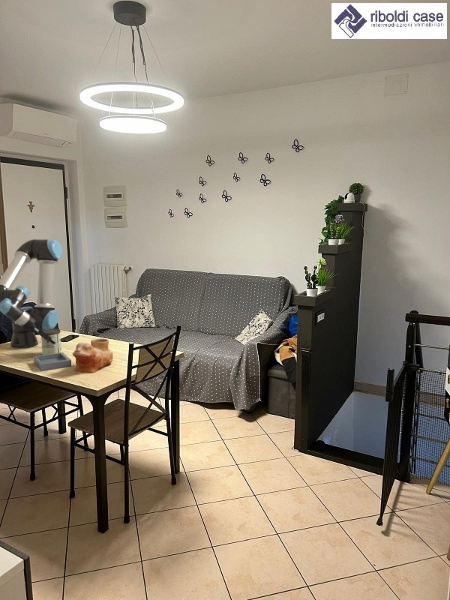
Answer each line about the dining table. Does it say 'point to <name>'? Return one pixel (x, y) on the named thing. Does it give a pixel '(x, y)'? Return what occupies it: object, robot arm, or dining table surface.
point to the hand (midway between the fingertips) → (56, 344)
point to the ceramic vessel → (92, 356)
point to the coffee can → (48, 347)
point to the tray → (52, 361)
